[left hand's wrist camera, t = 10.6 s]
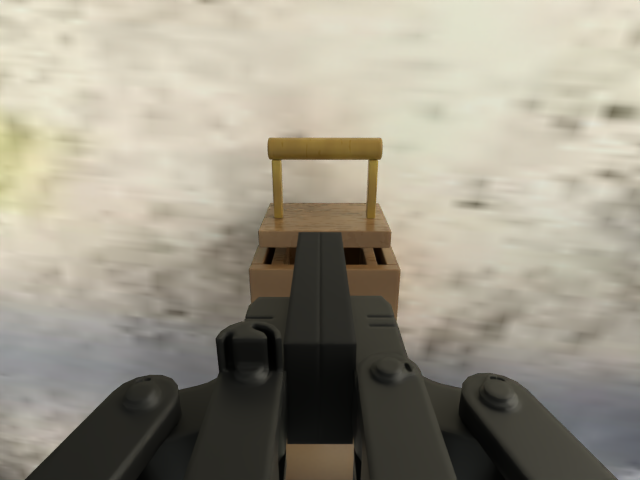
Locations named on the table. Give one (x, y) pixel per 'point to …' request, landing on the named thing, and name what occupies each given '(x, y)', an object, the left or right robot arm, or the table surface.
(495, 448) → the left robot arm
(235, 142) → the table surface
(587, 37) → the table surface
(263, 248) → the cabinet
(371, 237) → the drawer
